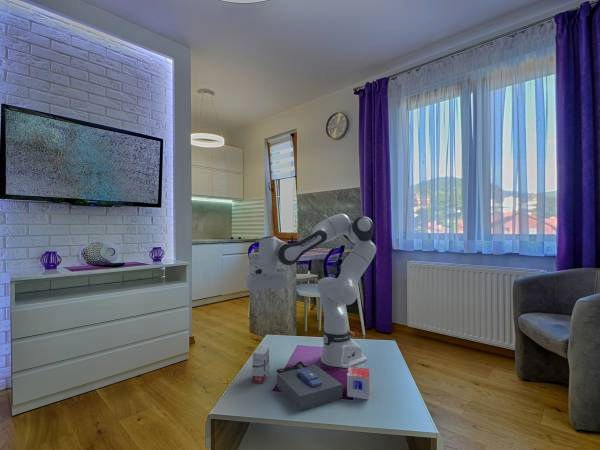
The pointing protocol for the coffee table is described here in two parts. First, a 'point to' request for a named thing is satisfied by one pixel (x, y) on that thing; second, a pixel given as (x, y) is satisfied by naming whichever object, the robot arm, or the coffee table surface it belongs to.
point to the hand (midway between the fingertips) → (267, 297)
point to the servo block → (308, 377)
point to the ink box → (260, 364)
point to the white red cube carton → (358, 382)
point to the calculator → (297, 366)
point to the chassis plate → (309, 388)
